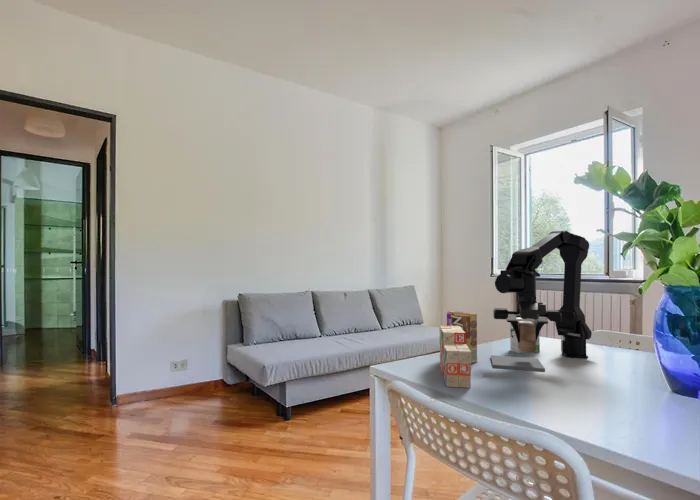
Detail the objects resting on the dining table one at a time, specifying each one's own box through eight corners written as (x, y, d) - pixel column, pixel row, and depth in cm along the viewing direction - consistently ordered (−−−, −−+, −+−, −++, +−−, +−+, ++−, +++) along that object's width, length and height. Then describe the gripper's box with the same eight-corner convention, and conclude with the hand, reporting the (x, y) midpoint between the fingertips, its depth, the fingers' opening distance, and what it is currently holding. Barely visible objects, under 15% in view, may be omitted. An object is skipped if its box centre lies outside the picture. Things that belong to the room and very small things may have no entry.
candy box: (478, 361, 120) (477, 313, 120) (470, 364, 117) (469, 314, 118) (454, 356, 127) (453, 310, 127) (446, 358, 124) (445, 311, 125)
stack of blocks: (471, 388, 95) (471, 339, 96) (446, 387, 96) (445, 338, 97) (460, 365, 117) (460, 325, 117) (439, 364, 117) (439, 324, 118)
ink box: (531, 349, 137) (531, 316, 137) (540, 352, 132) (540, 318, 133) (509, 350, 136) (509, 316, 136) (517, 353, 131) (517, 318, 131)
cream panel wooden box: (532, 347, 119) (531, 321, 120) (536, 352, 113) (535, 324, 113) (518, 346, 120) (517, 320, 121) (521, 351, 114) (520, 324, 114)
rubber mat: (537, 360, 121) (537, 358, 121) (544, 371, 110) (544, 368, 110) (490, 357, 125) (490, 355, 125) (493, 367, 114) (493, 364, 114)
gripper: (495, 293, 112) (495, 346, 112) (566, 294, 107) (567, 350, 106) (492, 290, 123) (493, 339, 122) (557, 291, 117) (558, 342, 117)
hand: (526, 342), depth 117 cm, fingers closed on cream panel wooden box, 4 cm apart
